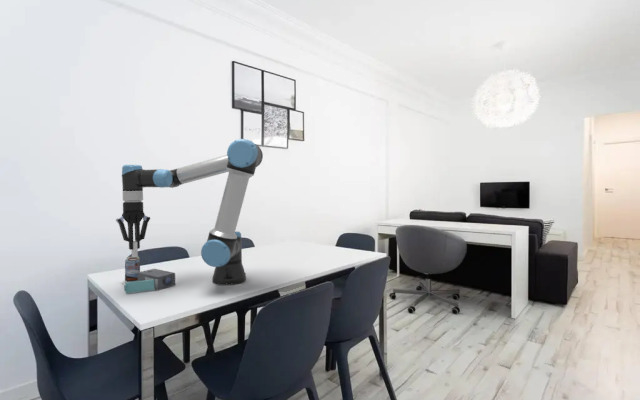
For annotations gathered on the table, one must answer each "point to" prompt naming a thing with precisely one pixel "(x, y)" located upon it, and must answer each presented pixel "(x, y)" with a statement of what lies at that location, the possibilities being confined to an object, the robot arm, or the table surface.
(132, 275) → the beverage can
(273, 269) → the table surface
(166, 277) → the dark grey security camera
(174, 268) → the table surface
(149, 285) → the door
